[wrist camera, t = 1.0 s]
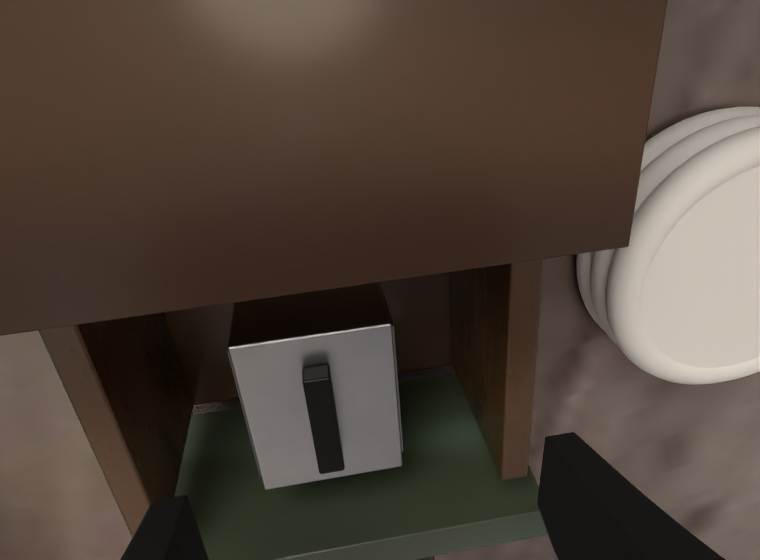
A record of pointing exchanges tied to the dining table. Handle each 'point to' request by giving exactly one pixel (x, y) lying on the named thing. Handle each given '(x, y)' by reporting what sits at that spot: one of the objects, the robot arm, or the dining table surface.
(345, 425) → the cube with black handle
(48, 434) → the dining table surface
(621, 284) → the white ridged disc
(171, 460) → the drawer
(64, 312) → the cabinet
